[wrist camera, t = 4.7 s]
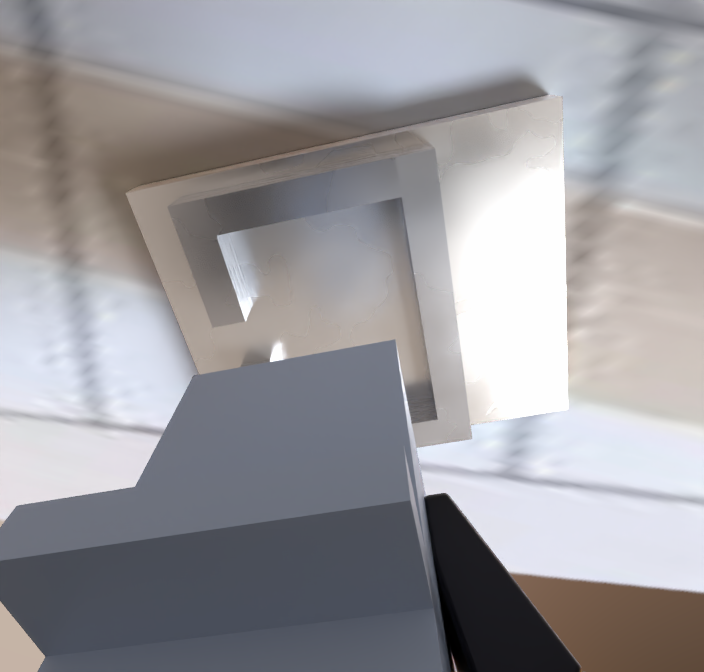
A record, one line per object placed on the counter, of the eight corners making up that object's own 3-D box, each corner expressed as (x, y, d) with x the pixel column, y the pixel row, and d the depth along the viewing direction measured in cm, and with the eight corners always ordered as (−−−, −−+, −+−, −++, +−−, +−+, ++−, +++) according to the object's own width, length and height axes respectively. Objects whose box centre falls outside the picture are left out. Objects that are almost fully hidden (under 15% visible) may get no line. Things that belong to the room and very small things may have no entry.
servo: (167, 311, 8) (-270, 872, 2) (382, 270, 8) (448, 815, 2) (297, 625, 12) (243, 1140, 6) (447, 606, 11) (535, 1134, 6)
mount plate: (549, 94, 14) (580, 99, 12) (558, 392, 19) (581, 431, 17) (138, 186, 15) (106, 203, 13) (240, 445, 20) (227, 486, 18)
